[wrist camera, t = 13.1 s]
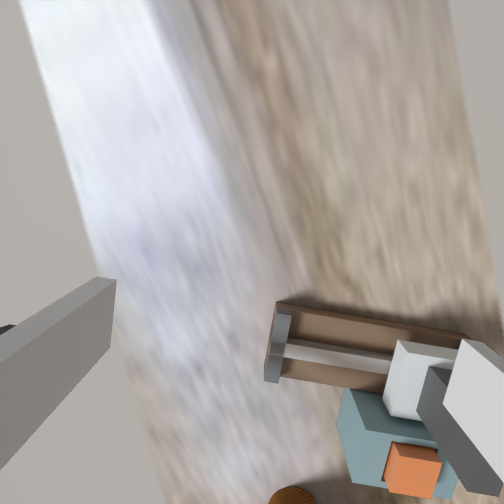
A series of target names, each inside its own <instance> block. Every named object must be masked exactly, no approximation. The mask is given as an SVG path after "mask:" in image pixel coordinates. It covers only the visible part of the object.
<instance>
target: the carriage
mask: <svg viewBox="0 0 504 504" xmlns="http://www.w3.org/2000/svg"><path fill="white" fill-rule="evenodd" d="M458 351H459V350H456V349H450V348H444V347H438V346H433V345H427V344H421V343H415V342H409V341H403V340H397V344H396V348H395V351H394V355H393V359H392V363H391V367H390V370H389V374H388V378H387V382H386V386H385V390H384V393H383V397H382V400H383V402H384V403H385V405H386V407H387V409H388V411H389V413H390V415H391V416H395V417H401V418H407V419H412V420H418V421H423V423H424V424H425V426H426V428H427V429H428V431H429V432H430V434H431V435H432V437H433V439H434V440H435V442H436V443H437V445H438V446H439V448H440V450H441V451H442V453H443V454H444V456H445V457H446V459H447V461H448V462H449V464H450V465H451V467H452V468H453V470H454V472H455V473H456V475H457V476H458V478H459V479H460V481H461V483H462V484H463V486H464V487H465V489H466V490H467V492H473V493H479V494H485V495H491V496H497V497H499V495H500V492H501V489H502V486H503V481H502V480H501V479H500V477H499V476H498V475H497V474H496V472H495V471H494V470H493V468H492V467H491V466H490V465H489V463H488V462H487V461H486V459H485V458H484V457H483V455H482V454H481V453H480V452H479V450H478V449H477V448H476V446H475V445H474V444H473V443H472V441H471V440H470V439H469V437H468V436H467V435H466V433H465V432H464V431H463V430H462V428H461V427H460V426H459V424H458V423H457V422H456V421H455V419H454V418H453V417H452V415H451V414H450V413H449V411H448V410H447V409H446V408H445V406H444V405H443V401H444V398H445V394H446V391H447V388H448V384H449V381H450V377H451V374H452V371H453V367H454V364H455V361H456V357H457V354H458Z"/></svg>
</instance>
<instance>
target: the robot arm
mask: <svg viewBox="0 0 504 504" xmlns="http://www.w3.org/2000/svg"><path fill="white" fill-rule="evenodd" d="M116 281H117V280H114V279H108V278H102V277H95V278H93V279H92V280H90V281H88V282H87V283H85V284H83V285H82V286H80V287H79V288H77V289H75V290H74V291H72V292H70V293H69V294H67V295H65V296H64V297H62V298H60V299H59V300H57V301H56V302H54V303H52V304H51V305H49V306H47V307H46V308H44V309H42V310H41V311H39V312H38V313H36V314H34V315H33V316H31V317H29V318H28V319H26V320H24V321H23V322H21V323H19V324H18V325H7V326H4V327H0V470H1V469H2V468H3V467H4V466H5V464H6V463H7V462H8V461H9V460H10V459H11V458H12V457H13V456H14V454H15V453H16V452H17V451H18V450H19V449H20V448H21V447H22V445H23V444H24V443H25V442H26V441H27V440H28V439H29V438H30V436H31V435H32V434H33V433H34V432H35V431H36V430H37V428H39V426H40V425H41V424H42V423H43V422H44V421H45V419H47V417H48V416H49V415H50V414H51V413H52V412H53V411H54V410H55V408H56V407H57V406H58V405H59V404H60V403H61V402H62V401H63V400H64V398H65V397H66V396H67V395H68V394H69V393H70V392H71V390H72V389H73V388H74V387H75V386H76V385H77V384H78V383H79V382H80V380H81V379H82V378H83V377H84V376H85V375H86V374H87V373H88V371H89V370H90V369H91V368H92V367H93V366H94V365H95V364H96V363H97V361H98V360H99V359H100V358H101V357H102V356H103V355H104V354H105V352H106V351H107V350H108V349H109V348H110V342H111V331H112V322H113V312H114V302H115V291H116ZM443 405H444V406H445V408H446V409H447V410H448V411H449V413H450V414H451V415H452V417H453V418H454V419H455V421H456V422H457V423H458V424H459V426H460V427H461V428H462V430H463V431H464V432H465V433H466V435H467V436H468V437H469V439H470V440H471V441H472V443H473V444H474V445H475V446H476V448H477V449H478V450H479V452H480V453H481V454H482V455H483V457H484V458H485V459H486V461H487V462H488V463H489V465H490V466H491V467H492V468H493V470H494V471H495V472H496V474H497V475H498V476H499V477H500V479H501V480H502V481H503V483H504V359H503V358H502V357H501V356H500V355H498V354H497V353H496V352H494V351H493V350H492V349H490V348H489V347H488V346H487V345H485V344H484V343H483V342H479V341H473V340H467V339H462V341H461V344H460V347H459V351H458V354H457V357H456V361H455V364H454V367H453V371H452V374H451V377H450V381H449V384H448V388H447V391H446V394H445V398H444V401H443Z"/></svg>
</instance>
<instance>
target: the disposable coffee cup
mask: <svg viewBox="0 0 504 504" xmlns="http://www.w3.org/2000/svg"><path fill="white" fill-rule="evenodd" d="M269 504H316V501H315V499H314V497H313V496H312V495H311V494H310V493H309V492H307V491H305V490H303V489H301V488H297V487H288V488H284V489H281V490H279V491H277V492H276V493H275V494H274V495H273V496H272V497H271V499H270V501H269Z"/></svg>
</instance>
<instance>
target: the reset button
mask: <svg viewBox="0 0 504 504" xmlns="http://www.w3.org/2000/svg"><path fill="white" fill-rule="evenodd" d="M441 466H442V462H441V460H440V459H439V457H438V455H437V454H436V452H435V450H434V449H433V448H430V447H424V446H419V445H413V444H407V443H401V442H395V441H392V442H391V446H390V449H389V453H388V457H387V460H386V464H385V468H384V471H383V477H384V479H385V482H386V484H387V487H388V489H389V492H391V493H397V494H403V495H409V496H415V497H421V498H427V499H431V498H432V495H433V492H434V488H435V485H436V482H437V479H438V476H439V472H440V469H441Z"/></svg>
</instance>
